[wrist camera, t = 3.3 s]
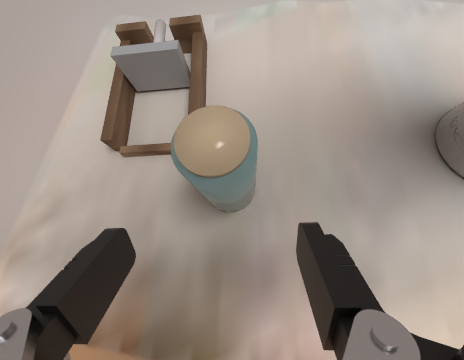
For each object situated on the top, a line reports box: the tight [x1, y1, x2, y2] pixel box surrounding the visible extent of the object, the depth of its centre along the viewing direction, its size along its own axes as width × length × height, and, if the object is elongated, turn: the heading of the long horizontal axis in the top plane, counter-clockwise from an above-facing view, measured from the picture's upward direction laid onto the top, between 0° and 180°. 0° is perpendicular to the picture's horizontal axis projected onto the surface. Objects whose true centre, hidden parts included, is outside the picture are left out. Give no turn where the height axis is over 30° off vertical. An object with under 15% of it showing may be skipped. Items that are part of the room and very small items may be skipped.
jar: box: [171, 106, 257, 212], centre depth 16 cm, size 5×5×10 cm
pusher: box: [111, 19, 190, 91], centre depth 24 cm, size 7×8×5 cm
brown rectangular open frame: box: [101, 15, 207, 157], centre depth 23 cm, size 10×16×4 cm, turn 1°
